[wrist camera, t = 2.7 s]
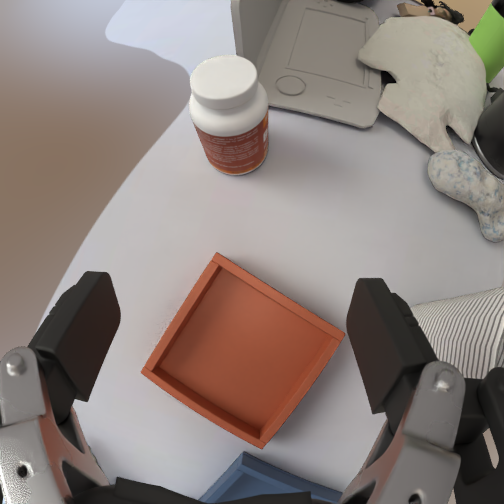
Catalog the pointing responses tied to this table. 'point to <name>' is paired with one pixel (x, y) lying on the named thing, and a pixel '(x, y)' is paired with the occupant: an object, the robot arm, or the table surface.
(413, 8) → the toy figure
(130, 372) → the table surface
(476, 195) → the decorative stone
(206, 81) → the pill bottle
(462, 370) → the cup
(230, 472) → the blue tray
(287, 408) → the red tray
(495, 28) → the tumbler
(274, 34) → the game console
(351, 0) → the container
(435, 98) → the grey flat irregular slab
